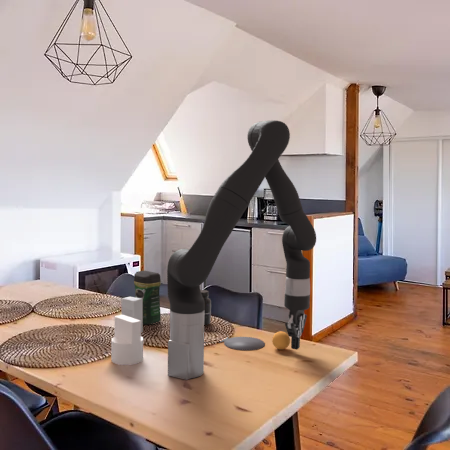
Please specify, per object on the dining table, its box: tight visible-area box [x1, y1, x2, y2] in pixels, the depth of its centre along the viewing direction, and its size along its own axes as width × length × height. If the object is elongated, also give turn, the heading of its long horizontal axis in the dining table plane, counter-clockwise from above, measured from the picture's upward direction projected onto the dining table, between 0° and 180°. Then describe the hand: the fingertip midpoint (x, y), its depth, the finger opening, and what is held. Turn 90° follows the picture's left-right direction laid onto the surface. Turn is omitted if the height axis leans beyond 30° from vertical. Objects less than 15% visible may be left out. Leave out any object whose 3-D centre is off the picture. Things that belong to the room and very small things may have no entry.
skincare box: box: [121, 296, 144, 332], centre depth 170 cm, size 6×4×12 cm
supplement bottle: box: [200, 289, 212, 326], centre depth 183 cm, size 7×7×12 cm
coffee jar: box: [133, 270, 162, 325], centre depth 183 cm, size 10×8×19 cm
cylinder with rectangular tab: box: [110, 314, 144, 366], centre depth 145 cm, size 9×9×12 cm
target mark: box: [223, 336, 266, 351], centre depth 162 cm, size 13×13×1 cm
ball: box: [271, 330, 291, 351], centre depth 157 cm, size 6×6×6 cm
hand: (295, 348), depth 154 cm, fingers closed
